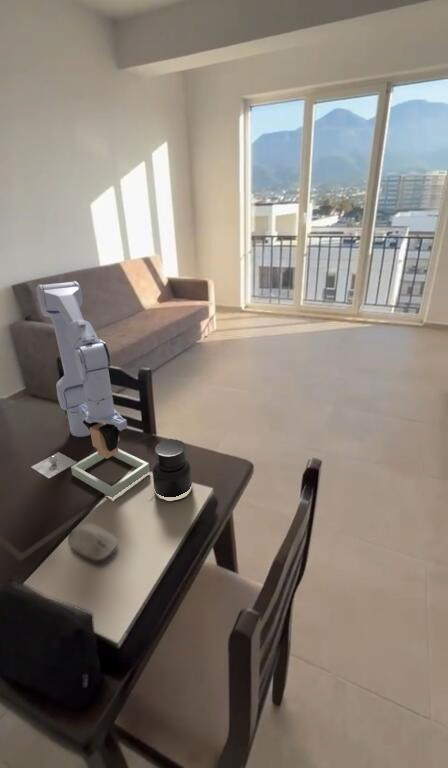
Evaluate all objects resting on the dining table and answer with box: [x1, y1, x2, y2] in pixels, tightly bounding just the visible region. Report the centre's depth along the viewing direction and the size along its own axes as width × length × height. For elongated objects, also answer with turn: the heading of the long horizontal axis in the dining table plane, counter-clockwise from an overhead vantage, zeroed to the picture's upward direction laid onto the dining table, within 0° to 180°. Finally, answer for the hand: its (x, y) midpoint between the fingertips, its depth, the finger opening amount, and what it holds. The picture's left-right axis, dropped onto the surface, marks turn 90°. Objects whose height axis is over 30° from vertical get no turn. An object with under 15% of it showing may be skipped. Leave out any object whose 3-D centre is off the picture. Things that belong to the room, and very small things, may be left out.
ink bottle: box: [152, 439, 193, 497], centre depth 89 cm, size 10×9×12 cm
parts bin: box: [70, 448, 151, 498], centre depth 96 cm, size 12×15×4 cm
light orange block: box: [90, 423, 121, 459], centre depth 92 cm, size 3×5×8 cm, turn 145°
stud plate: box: [30, 451, 78, 479], centre depth 99 cm, size 8×8×4 cm
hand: (107, 446), depth 93 cm, fingers closed on light orange block, 3 cm apart
